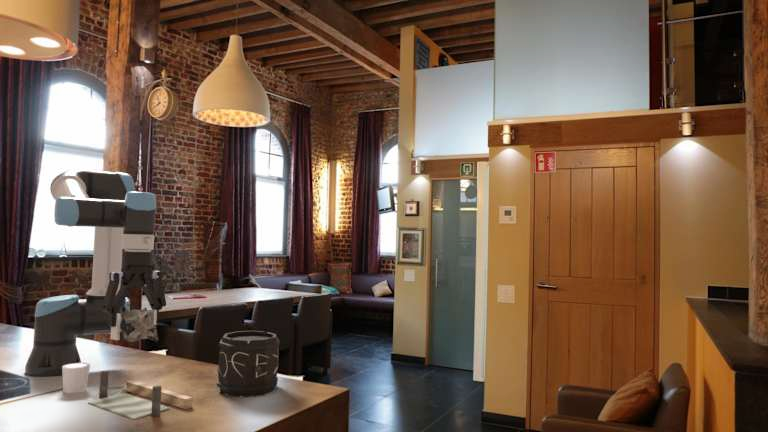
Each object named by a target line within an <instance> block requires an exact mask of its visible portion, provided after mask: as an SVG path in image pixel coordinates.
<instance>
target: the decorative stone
mask: <svg viewBox="0 0 768 432" xmlns="http://www.w3.org/2000/svg"><path fill="white" fill-rule="evenodd" d="M120 313H121V318H122V321H121V323H120V329H121V330H122V331H121V332H122V337H123V340H124V341H127V342H128V343H136V342H139V341H140V340H146V339H149V340H151V341H153V342H154V343H157V342H159V337H158V331H157V324H156V325H154V326H153V327H151V316H150V314H149V313H148V308H147V307H143V308H142V309H130V311H129V310H127V309H126V308H125V307H124V306H122V307H121V308H120Z"/></svg>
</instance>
